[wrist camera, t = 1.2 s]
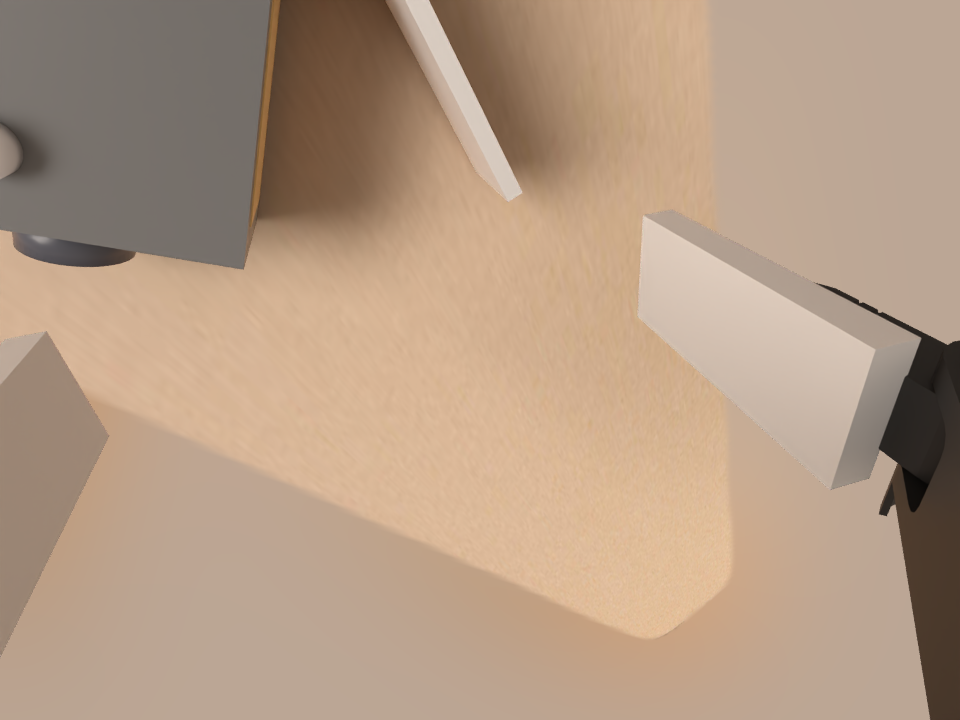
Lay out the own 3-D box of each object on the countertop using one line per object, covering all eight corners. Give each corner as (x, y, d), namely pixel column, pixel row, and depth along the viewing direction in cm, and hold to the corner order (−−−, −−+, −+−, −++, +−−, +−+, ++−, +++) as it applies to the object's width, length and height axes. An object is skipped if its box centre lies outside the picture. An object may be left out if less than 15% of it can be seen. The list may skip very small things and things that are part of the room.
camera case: (-48, -312, 19) (-237, -486, 12) (299, -162, 23) (294, -235, 16) (3, 204, 26) (-96, 265, 20) (254, 248, 30) (240, 311, 24)
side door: (297, -156, 22) (294, -204, 17) (322, -173, 22) (326, -227, 17) (473, 174, 31) (504, 204, 26) (491, 162, 31) (526, 190, 26)
